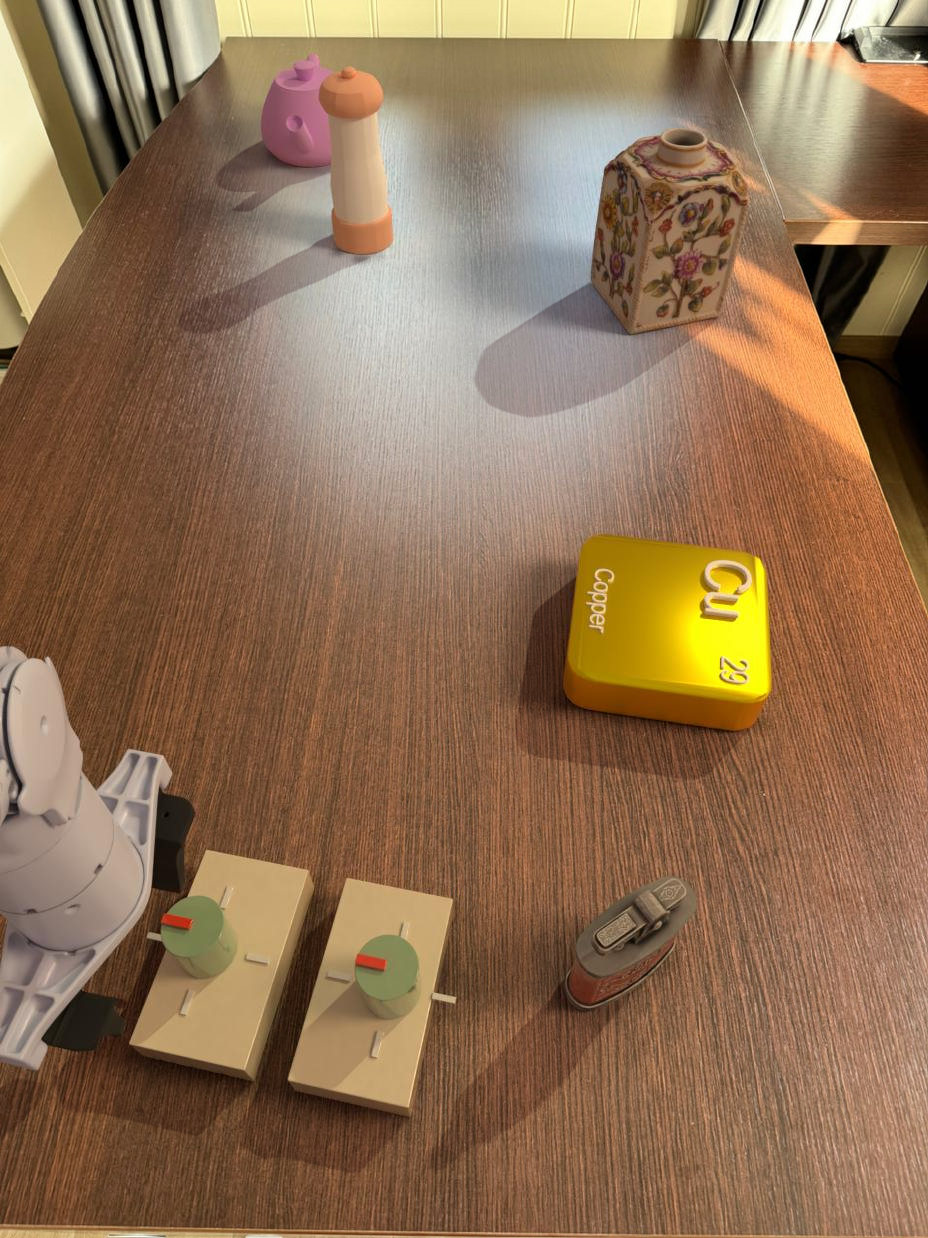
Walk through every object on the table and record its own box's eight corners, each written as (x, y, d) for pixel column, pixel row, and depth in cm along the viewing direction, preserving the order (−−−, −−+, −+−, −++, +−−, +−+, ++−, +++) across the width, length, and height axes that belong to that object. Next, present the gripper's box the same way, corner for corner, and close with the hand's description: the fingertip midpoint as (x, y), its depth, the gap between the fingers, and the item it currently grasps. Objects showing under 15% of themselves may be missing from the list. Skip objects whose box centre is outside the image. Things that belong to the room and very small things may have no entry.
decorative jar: (627, 337, 98) (655, 172, 84) (585, 281, 105) (605, 119, 90) (725, 318, 100) (768, 153, 86) (678, 263, 107) (711, 102, 93)
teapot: (251, 184, 118) (235, 98, 110) (275, 117, 131) (262, 34, 122) (355, 186, 118) (347, 100, 110) (369, 118, 130) (363, 36, 122)
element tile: (577, 563, 78) (583, 524, 74) (753, 586, 76) (769, 548, 72) (559, 707, 69) (565, 672, 65) (758, 737, 67) (776, 702, 63)
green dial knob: (246, 925, 55) (232, 900, 52) (225, 984, 53) (209, 962, 50) (191, 913, 56) (174, 887, 52) (168, 972, 54) (148, 949, 50)
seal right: (427, 963, 54) (425, 940, 51) (413, 1025, 52) (410, 1005, 48) (370, 950, 54) (364, 926, 51) (353, 1012, 52) (346, 991, 49)
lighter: (650, 908, 59) (679, 845, 51) (685, 952, 57) (720, 894, 49) (552, 977, 56) (567, 922, 49) (585, 1025, 55) (606, 976, 47)
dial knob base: (434, 1123, 51) (433, 1113, 49) (294, 1091, 52) (286, 1080, 50) (474, 919, 59) (474, 901, 56) (350, 894, 60) (345, 876, 57)
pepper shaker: (339, 221, 113) (321, 52, 98) (397, 224, 112) (387, 55, 97) (329, 252, 108) (307, 80, 93) (388, 256, 108) (377, 83, 93)
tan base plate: (254, 1081, 53) (243, 1070, 50) (121, 1051, 54) (104, 1038, 51) (314, 887, 60) (308, 868, 57) (196, 863, 61) (185, 844, 58)
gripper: (40, 690, 42) (125, 816, 53) (-147, 1005, 34) (-1, 1081, 44) (180, 715, 42) (238, 839, 52) (25, 1046, 33) (132, 1113, 44)
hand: (137, 952), depth 48 cm, fingers open, 7 cm apart
